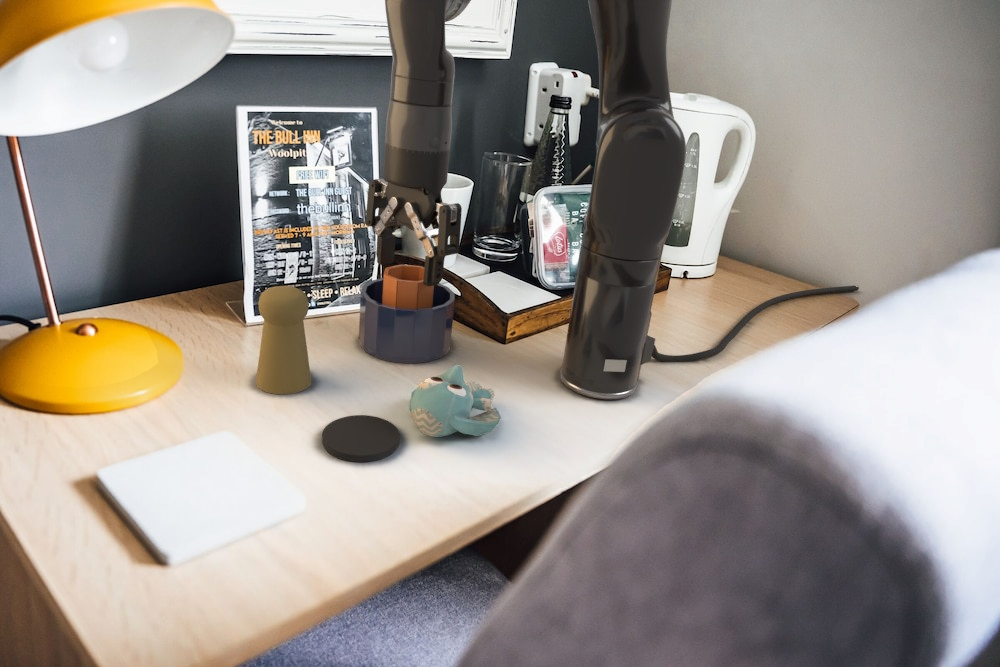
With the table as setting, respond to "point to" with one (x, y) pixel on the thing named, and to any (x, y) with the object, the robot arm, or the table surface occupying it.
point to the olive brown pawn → (283, 341)
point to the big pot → (405, 326)
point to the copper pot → (406, 287)
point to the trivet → (360, 438)
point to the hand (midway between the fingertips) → (407, 273)
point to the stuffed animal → (452, 405)
